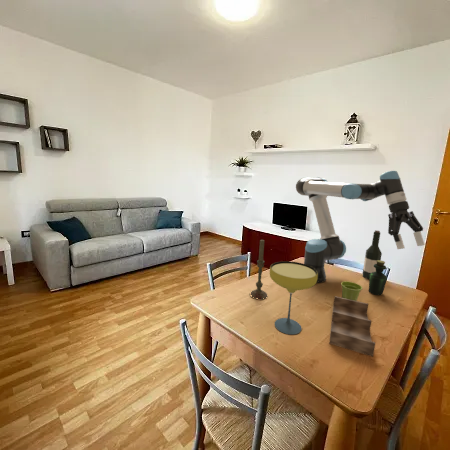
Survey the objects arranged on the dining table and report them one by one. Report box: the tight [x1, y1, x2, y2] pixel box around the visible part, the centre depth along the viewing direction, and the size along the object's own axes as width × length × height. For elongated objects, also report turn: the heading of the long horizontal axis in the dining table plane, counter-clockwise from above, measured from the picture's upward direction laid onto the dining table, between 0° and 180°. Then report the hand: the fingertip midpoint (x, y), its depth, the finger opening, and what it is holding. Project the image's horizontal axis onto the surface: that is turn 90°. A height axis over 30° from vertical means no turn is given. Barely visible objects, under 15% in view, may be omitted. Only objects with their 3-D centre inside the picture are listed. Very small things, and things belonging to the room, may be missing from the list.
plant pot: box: [340, 280, 363, 301], centre depth 120 cm, size 9×9×9 cm
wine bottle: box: [362, 230, 383, 280], centre depth 149 cm, size 8×8×30 cm
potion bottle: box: [368, 259, 388, 296], centre depth 129 cm, size 8×8×18 cm
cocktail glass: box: [269, 260, 318, 336], centre depth 97 cm, size 18×18×25 cm
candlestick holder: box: [250, 239, 268, 300], centre depth 121 cm, size 9×9×30 cm
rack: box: [329, 295, 376, 357], centre depth 99 cm, size 14×30×5 cm, turn 154°
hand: (411, 247), depth 109 cm, fingers open, 13 cm apart
